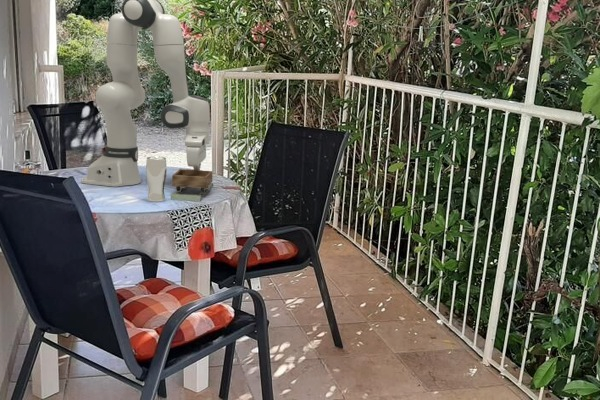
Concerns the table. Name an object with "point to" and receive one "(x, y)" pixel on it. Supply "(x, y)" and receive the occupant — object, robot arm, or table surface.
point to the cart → (192, 179)
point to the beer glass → (156, 178)
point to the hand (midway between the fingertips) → (196, 174)
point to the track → (189, 197)
